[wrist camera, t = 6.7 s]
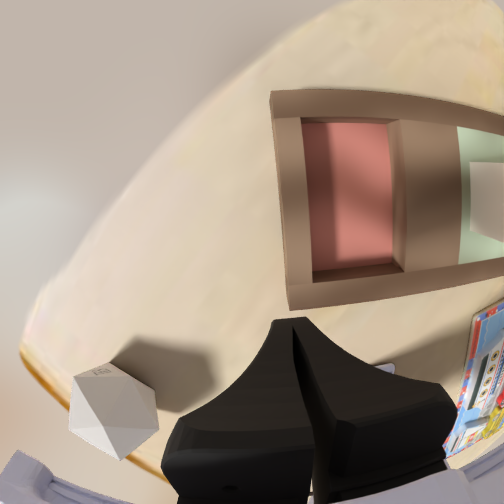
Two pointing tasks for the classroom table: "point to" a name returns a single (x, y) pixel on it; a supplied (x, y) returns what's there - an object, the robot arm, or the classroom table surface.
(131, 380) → the die
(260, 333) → the classroom table surface
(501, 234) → the block
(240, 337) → the classroom table surface
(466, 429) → the puzzle board
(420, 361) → the classroom table surface
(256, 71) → the classroom table surface
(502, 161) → the tray
